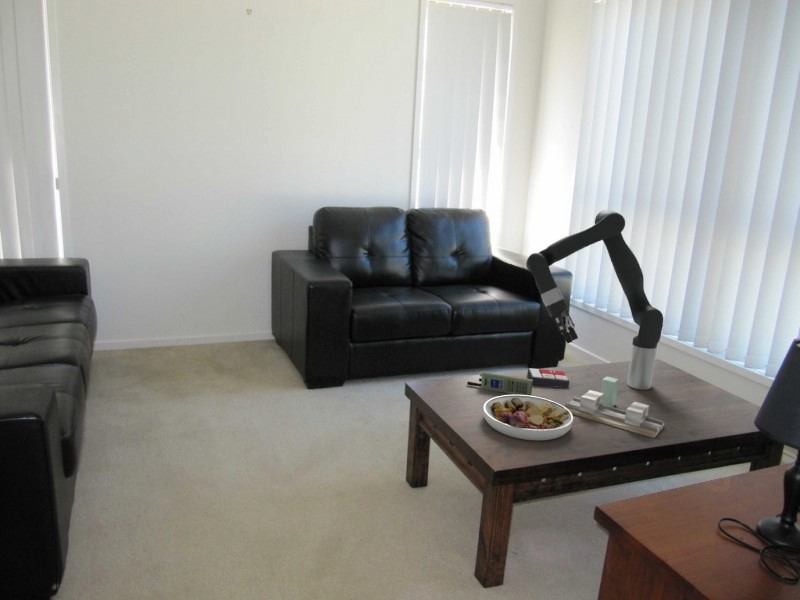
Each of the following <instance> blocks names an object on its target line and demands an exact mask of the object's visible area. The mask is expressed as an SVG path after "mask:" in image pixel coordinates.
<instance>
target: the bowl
mask: <svg viewBox="0 0 800 600" xmlns="http://www.w3.org/2000/svg"><path fill="white" fill-rule="evenodd" d="M482 411H483V413H482V414H483V417H484V420H485V421H486V422H487V424H488V425H489V426H490V427H491V428H493V429H494V430H496V431H497V432H499V433H501V434H503V435H506V436H508V437H511V438H514V439H520V440H526V441H549V440H554V439H557V438H560V437H563V436H565V435H566V434H567V433H568V432H569V431H570V430H571V429H572V425H573V423H574V415H573V414H572V413H571V412H570V411H569V410H568V409H567V408H566V407H565V406H564V405H562V404H560V403H559V402H556V401H553V400H550V399H548V398H544V397H539V396H534V395H531V396H528V395H515V394H504V395H500V396H498V395H497V396H495V397H492V398H489V399H488V400H487V401H485V402H484V404H483V408H482Z"/></svg>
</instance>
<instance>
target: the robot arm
mask: <svg viewBox="0 0 800 600" xmlns="http://www.w3.org/2000/svg"><path fill="white" fill-rule="evenodd" d="M625 226H626V220H625V217H624V216H623V215H622V214H620V213H619V212H616V211H614V210H610V209H603V210H601V211H599V212H598V213H597V215H596V216H595V218H594V225H592V226H590V227H589V228H586V229H585V230H581V231H580V232H579V231H578V232H576V233H572V234H570V235H567V236H564V237H563V238H560V239H558V240H557V241H555V242H553V243H551V244H549V245H548V246H546V248H544V249H542V250H540V251H539V252H533V253H531V254H530V255H529V256H528V257H527V258H526V263H525V264H526V268H527V269H526V270H528V271H529V272H531V274H532V276H533V278H534V280H535V286H536V287H537V289H538V291H539V294H540V296H541V299H542V302H543V305H544V306H545V308H546V310H547V312H548V315H549V316H550V317H551V318H552V317H555V318H553V321H554V323H555V325H556V328H557V330H558V332H559V334H561V335H563V338H564V340H565V342H566V344H571V343H572V342H573V341H574V340H577V339H578V338H579V337H578V334H577V332H576V330H575V326H576V325H575V323H574V322H573V319H572V317H571V315H570V313H569V312H566V311H568V310H569V306H568V304H567V302H566V300H565V298H564V296H563V294H562V292H561V290H560V288H559V286H558V284H557V283H556V280H555V278H554V276H553V275H552V273H551V272H552V271H551V268H550V266H552V265H553V264H555V263H557V262H560V261H561V260H563V259H566V258H568V257H569V256H571V255H574V254H575V253H577V252H579V251H580V250H583V249H584V248H587V247H589V246H591V245H593V244H596V243H599V242H601V241H602V242H603V244H604V245H605V248H606V250H607V253H608V256H609V259H610V262H611V264H612V266H613V271H614V272H615V275H616V277H617V280H618V281H619V283H620V286H621V289H622V291H623V293H624V295H625V297H626V299H627V303H628V307H629V309H630V313H631V316H632V319H633V321H634V323H635V324H636V325H637V326H638V327H639V328H638V334H637V335H636V336H633V338H632V344H631V352H630V359H629V367H628V373H627V380H626V385H627V386H628V387H630V388H633V389H635V390H642V391H643V390H644V391H645V390H646V391H647V390H650V389H651V387H652V381H653V375H654V369H655V362H656V355H657V350H658V349H657V348H658V343H659V342H660V340H661V336H662V331H663V326H664V316H663V313H662V311H661V310H660V309H658V308H656V307H654V306H652V305H651V303H650V301H649V299H648V297H647V295H646V293H645V289H644V288H645V284H644V282H645V281H644V280H645V279H644V274H643V270H642V268H641V266H640V263H639V261H638V259H637V257H636V255H635V253H634V251H632V249H631V248H630V246H629V245H628V244H627V243H626V241H625V239H624V237H623V234H622V232H623V231H624V228H625Z"/></svg>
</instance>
